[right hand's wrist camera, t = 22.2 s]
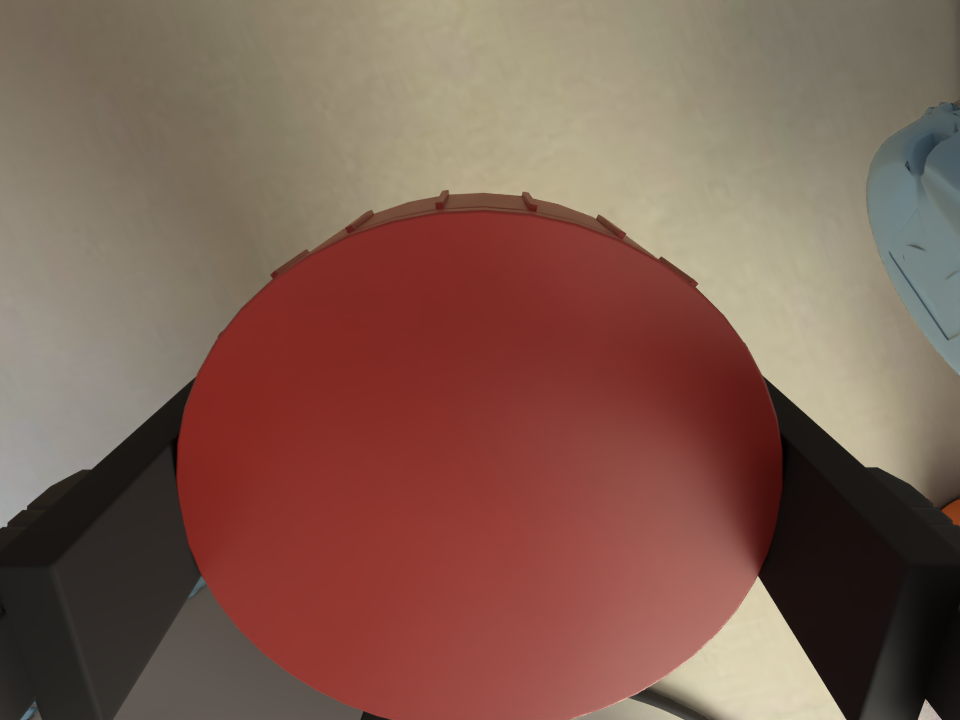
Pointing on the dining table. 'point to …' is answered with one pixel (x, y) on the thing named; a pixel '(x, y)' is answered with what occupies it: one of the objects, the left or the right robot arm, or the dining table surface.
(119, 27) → the dining table surface
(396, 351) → the lid
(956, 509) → the cup with straw
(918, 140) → the left robot arm
